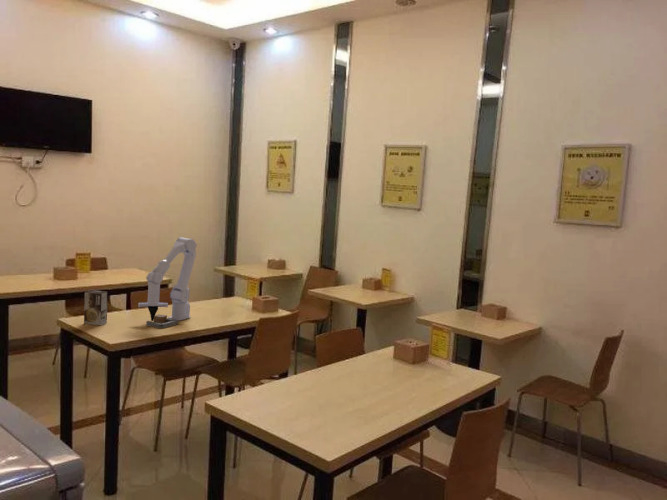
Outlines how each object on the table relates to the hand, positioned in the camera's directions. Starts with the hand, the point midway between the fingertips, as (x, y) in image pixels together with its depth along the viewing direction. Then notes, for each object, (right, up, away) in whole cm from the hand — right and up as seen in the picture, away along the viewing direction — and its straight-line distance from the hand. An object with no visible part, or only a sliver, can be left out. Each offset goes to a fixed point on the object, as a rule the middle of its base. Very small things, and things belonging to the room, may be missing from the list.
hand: (152, 320), depth 283 cm
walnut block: (+4, -1, 0) cm, 4 cm away
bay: (+6, -2, -2) cm, 7 cm away
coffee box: (-25, 0, -10) cm, 27 cm away
